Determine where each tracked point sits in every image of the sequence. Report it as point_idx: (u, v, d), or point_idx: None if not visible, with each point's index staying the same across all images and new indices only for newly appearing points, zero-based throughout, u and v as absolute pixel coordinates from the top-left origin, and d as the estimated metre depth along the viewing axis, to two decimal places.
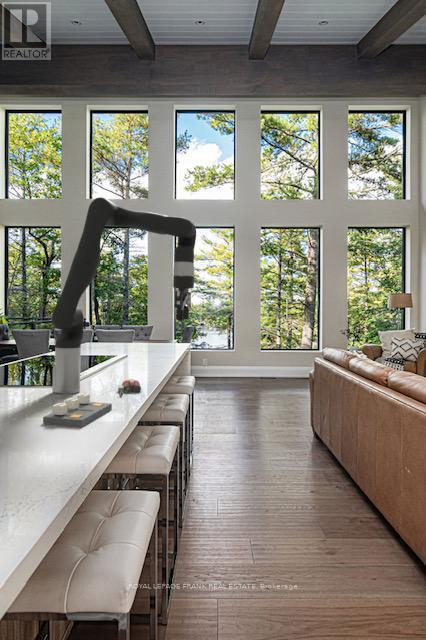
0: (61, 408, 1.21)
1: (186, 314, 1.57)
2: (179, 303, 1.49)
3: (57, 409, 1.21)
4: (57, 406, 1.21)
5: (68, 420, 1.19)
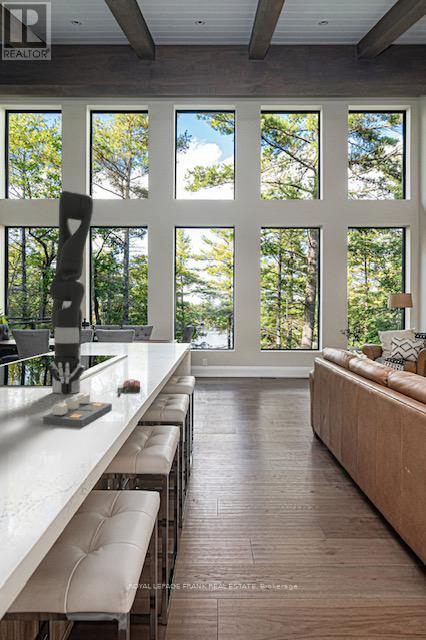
0: (61, 408, 1.21)
1: None
2: (69, 375, 1.36)
3: (57, 409, 1.21)
4: (57, 406, 1.21)
5: (68, 420, 1.19)
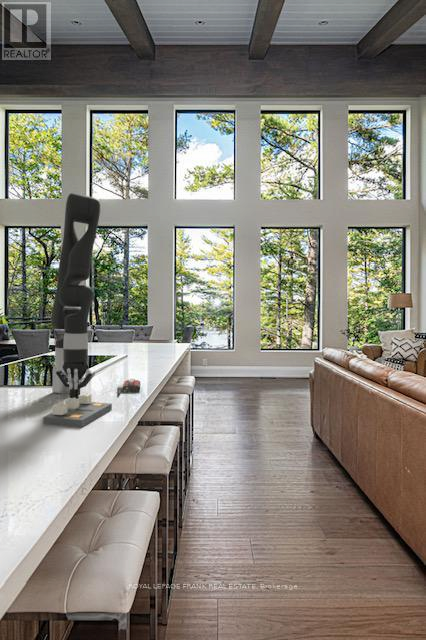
0: (61, 408, 1.21)
1: None
2: None
3: (57, 409, 1.21)
4: (57, 406, 1.21)
5: (68, 420, 1.19)
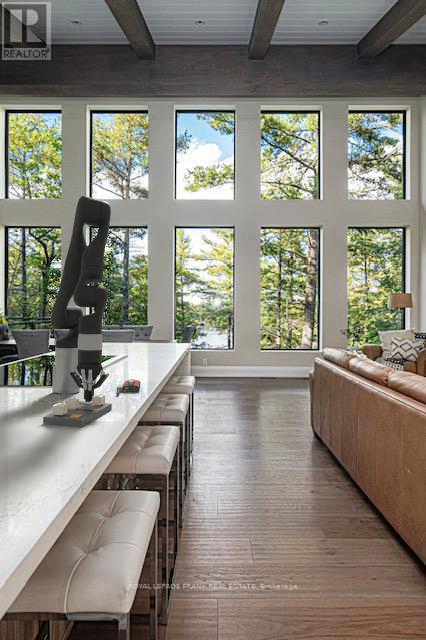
0: (61, 408, 1.21)
1: None
2: None
3: (57, 409, 1.21)
4: (57, 406, 1.21)
5: (68, 420, 1.19)
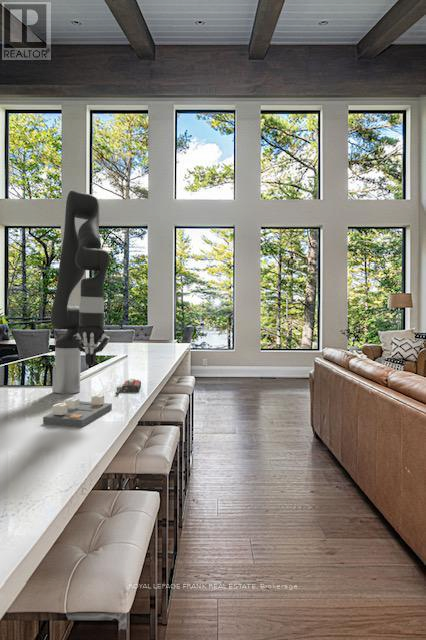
0: (61, 408, 1.21)
1: None
2: None
3: (57, 409, 1.21)
4: (57, 406, 1.21)
5: (68, 420, 1.19)
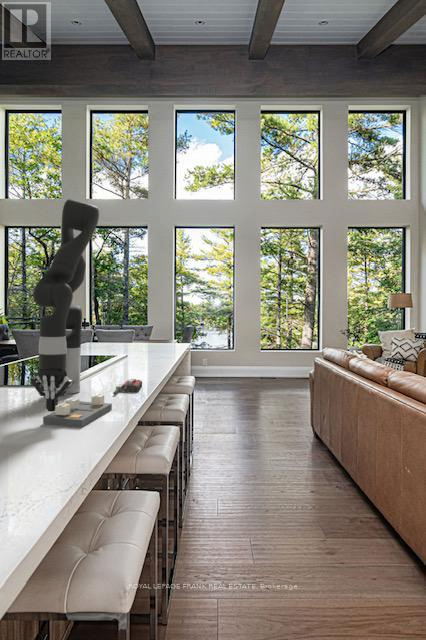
0: (64, 408, 1.21)
1: None
2: None
3: (60, 409, 1.21)
4: (60, 406, 1.21)
5: (68, 420, 1.19)
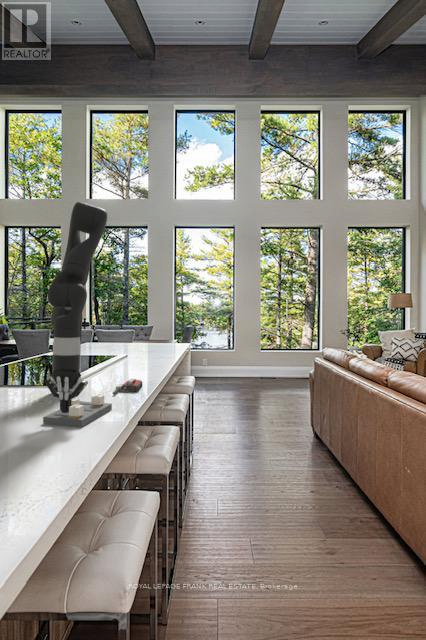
0: (78, 409, 1.20)
1: None
2: None
3: (74, 410, 1.20)
4: (74, 407, 1.20)
5: (68, 420, 1.19)
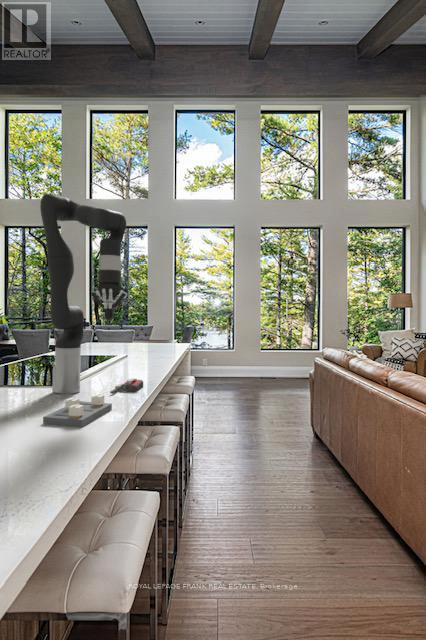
0: (77, 409, 1.20)
1: None
2: None
3: (73, 410, 1.20)
4: (73, 407, 1.20)
5: (68, 420, 1.19)
